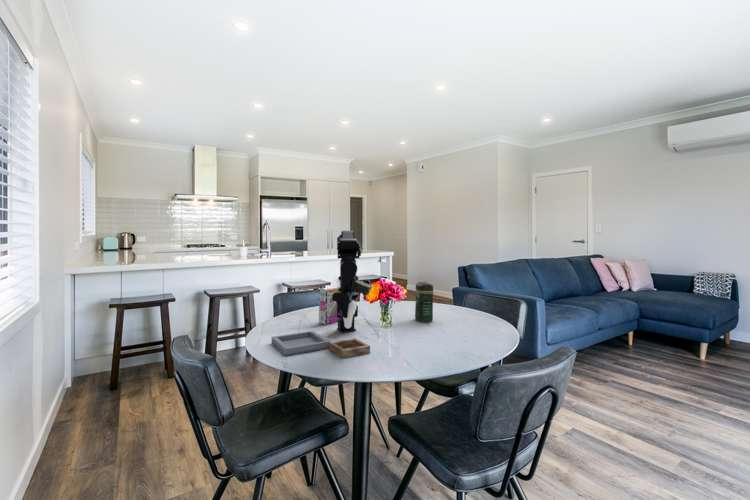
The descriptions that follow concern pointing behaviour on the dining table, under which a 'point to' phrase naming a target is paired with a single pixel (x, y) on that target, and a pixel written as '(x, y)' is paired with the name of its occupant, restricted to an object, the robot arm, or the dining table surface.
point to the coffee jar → (424, 302)
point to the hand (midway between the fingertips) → (347, 316)
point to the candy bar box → (327, 306)
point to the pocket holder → (358, 350)
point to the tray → (300, 342)
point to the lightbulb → (350, 314)
